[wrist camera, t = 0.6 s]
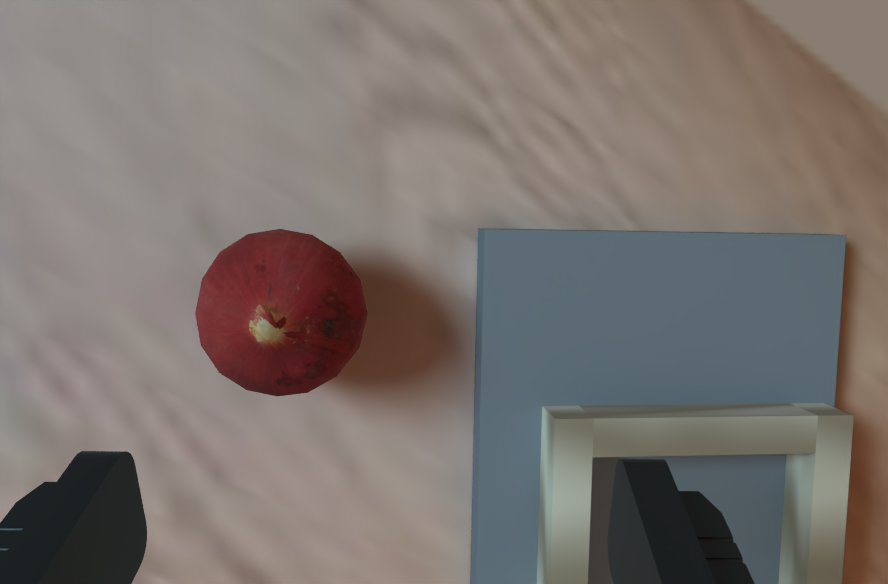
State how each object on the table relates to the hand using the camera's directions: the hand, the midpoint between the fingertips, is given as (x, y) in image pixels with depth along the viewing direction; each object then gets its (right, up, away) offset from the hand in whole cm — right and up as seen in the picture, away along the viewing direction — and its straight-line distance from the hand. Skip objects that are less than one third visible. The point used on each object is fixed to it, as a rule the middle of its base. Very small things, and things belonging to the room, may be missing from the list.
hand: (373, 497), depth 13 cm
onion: (-5, +3, +18) cm, 19 cm away
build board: (+10, -4, +21) cm, 23 cm away
